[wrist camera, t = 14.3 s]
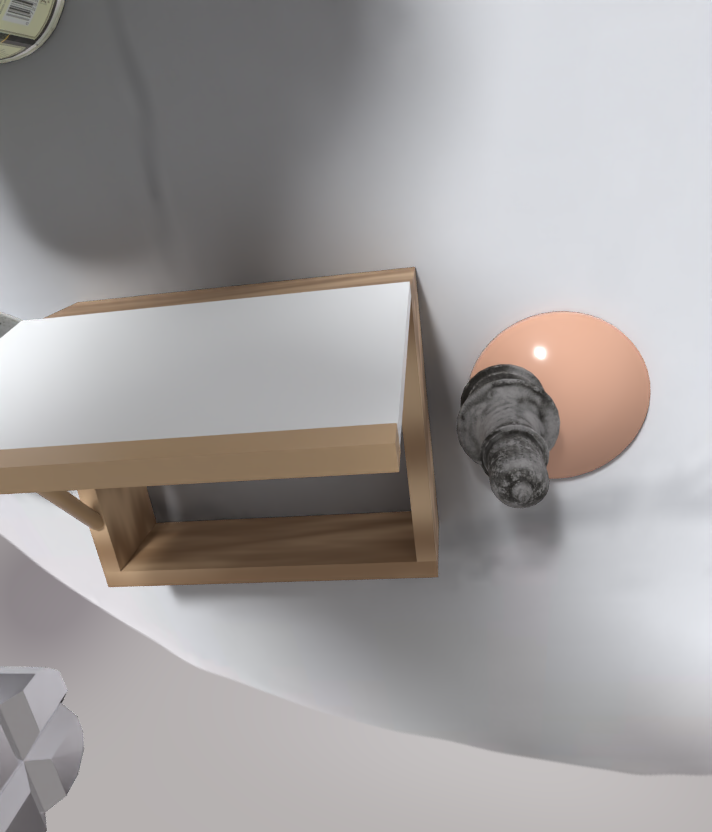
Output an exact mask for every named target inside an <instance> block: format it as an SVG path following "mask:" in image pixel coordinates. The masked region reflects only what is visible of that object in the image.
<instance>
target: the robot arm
mask: <svg viewBox="0 0 712 832" xmlns="http://www.w3.org/2000/svg"><path fill="white" fill-rule="evenodd" d="M67 691H68V690H67V687H66V685H65V683H64V681H63V679H62V676H61V674H60V672H59V670H55V669H51V668H47V667H0V832H46V831H47V828H46V817H45V812H46V811H48V810H49V809H50V808H51V807H53V806H54V805H55V804H56V803H58V802H59V801H60V800H62V799H63V798H64V797H65V796H67V793H68V792H69V790H70V788H71V786H72V784H73V783H74V781H75V779H76V777H77V775H78V772H79V768H80V764H81V759H82V756H83V752H84V741H83V730H82V727H81V724H80V722H79V719H78V716H77V715H75V714H74V713H73V712H72V711H71V710H69V709H68V708H67V707H66V706H65V705H63V704H62V702H63V700H64V697H65V695H66V693H67Z"/></svg>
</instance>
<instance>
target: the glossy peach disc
mask: <svg viewBox="0 0 712 832" xmlns="http://www.w3.org/2000/svg"><path fill="white" fill-rule="evenodd" d="M498 364H512V365H516V366H519V367H523V368H524V369H526V370H528V371H530V372H531V373H533V374H534V375H535V376H536V377H537V379H538V380H539V381H540V383H541V384H542V386H543V388H544V390H545V392H546V393H547V394H548V395H549V396H550V397H551V398H552V400H553V401H554V403H555V405H556V407H557V409H558V413H559V418H560V429H559V435H558V438H557V440H556V443H555V445H554V447H553V448H552V449H551V451H550V452H549V462H548V465H547V467H546V468H547V472H548V476H549V479H558V478H568V477H573V476H577V475H581V474H584V473H587V472H590V471H593V470H595V469H597V468H599V467H601V466H603V465H605V464H606V463H608V462H609V461H611V460H613V459H614V458H615V457H616V456H618V455H619V454H620V453H621V452H622V451H623V450H624V449H625V448H626V447H627V446H628V445H629V444H630V443H631V441H632V440H633V439H634V438H635V436H636V435H637V433H638V431H639V430H640V428H641V426H642V424H643V422H644V419H645V417H646V414H647V410H648V407H649V400H650V381H649V375H648V371H647V368H646V365H645V362H644V360H643V358H642V356H641V354H640V353H639V351H638V350H637V348H636V347H635V346H634V344H633V343H632V342H631V341H630V340H629V339H628V338H627V337H626V336H625V335H624V334H623V333H622V332H621V331H620V330H619V329H617V328H616V327H615V326H613V325H612V324H610V323H608V322H606V321H604V320H602V319H600V318H597V317H595V316H592V315H588V314H584V313H579V312H570V311H555V312H548V313H542V314H538V315H534V316H531V317H528V318H526V319H523V320H521V321H518V322H517V323H515V324H513V325H511V326H510V327H508V328H506V329H505V330H504V331H502V332H501V333H500V334H498V335H497V336H496V337H495V338H494V339H493V340H492V341H491V342H490V343H489V344H488V345H487V347H486V348H485V349H484V350H483V351H482V353H481V354H480V356H479V358H478V359H477V361H476V363H475V365H474V367H473V370H472V372H471V375H470V379H471V378H472V377H473V376H474V375H476V374H477V373H478V372H479V371H481V370H483V369H485V368H487V367H490V366H494V365H498ZM470 379H469V380H470Z"/></svg>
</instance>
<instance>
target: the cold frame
mask: <svg viewBox="0 0 712 832" xmlns="http://www.w3.org/2000/svg"><path fill="white" fill-rule="evenodd" d="M409 281H410V290H411V305H410V319H409V332H408V346H407V359H406V373H405V387H404V400H403V414H402V430H403V439H404V448H405V458H406V467H407V476H408V485H409V494H410V503H411V511H403V512H381V513H360V514H338V515H316V516H294V517H273V518H251V519H229V520H207V521H185V522H164V523H156V519H155V516H154V512H153V509H152V505H151V501H150V498H149V494H148V491H147V487H146V486H141V487H123V488H105V489H87V490H77V491H78V494H79V497H80V500H81V501H82V502H83V503H84V504H86V505H87V506H89V507H90V508H92V509H93V510H94V511H96V512H97V513H98V514H99V515H100V516H101V517H102V519H103V522H104V526H103V527H102V528H101V529H99V530H93V529H91V528H90V527H89V528H90V531H91V534H92V537H93V540H94V544H95V547H96V550H97V553H98V556H99V559H100V562H101V565H102V568H103V571H104V574H105V577H106V581H107V584H108V587H127V586H160V585H194V584H228V583H262V582H296V581H329V580H363V579H397V578H431V577H438V549H439V521H438V510H437V499H436V488H435V477H434V467H433V456H432V445H431V434H430V423H429V412H428V401H427V391H426V380H425V369H424V358H423V347H422V336H421V325H420V315H419V304H418V293H417V282H416V271H415V267H410V268H400V269H391V270H381V271H372V272H362V273H353V274H343V275H334V276H324V277H315V278H305V279H296V280H286V281H277V282H267V283H258V284H248V285H238V286H229V287H219V288H210V289H200V290H191V291H181V292H172V293H162V294H153V295H143V296H134V297H124V298H115V299H105V300H96V301H86V302H77V303H75V304H73V305H71V306H69V307H67V308H65V309H62V310H60V311H58V312H56V313H54V314H52V315H50V316H47V317H45V318H55V317H65V316H75V315H84V314H94V313H104V312H114V311H124V310H134V309H143V308H153V307H163V306H173V305H183V304H193V303H202V302H212V301H222V300H232V299H242V298H252V297H261V296H271V295H281V294H291V293H301V292H311V291H320V290H330V289H340V288H350V287H360V286H370V285H379V284H389V283H399V282H409ZM45 318H43V319H45Z"/></svg>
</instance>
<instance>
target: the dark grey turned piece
mask: <svg viewBox="0 0 712 832" xmlns="http://www.w3.org/2000/svg"><path fill="white" fill-rule="evenodd" d="M559 429H560V418H559V413H558V409H557V407H556V405H555V403H554V401H553V400H552V398H551V397H550V396H549V395H548V394H547V393H546V392H545V390H544V388H543V386H542V384H541V383H540V381H539V380H538V379H537V377H536V376H535V375H534V374H533V373H531V372H530V371H528V370H526V369H524V368H523V367H519V366H516V365H512V364H498V365H494V366H490V367H487V368H485V369H483V370H481V371H479V372H478V373H477V374H476V375H474V376H473V377H472V378H471V379H470V380H469V382H468V383H467V385H466V386H465V388H464V391H463V394H462V397H461V409H460V412H459V415H458V418H457V434H458V438H459V442H460V444H461V446H462V447H463V449H464V451H465V452H466V454H467V455H468V456H469V457H470V458H472V459H473V460H474V461H475V462H476V463H478V464H480V465H481V466H482V468H483V470H484V471H485V473H486V474H487V475H488V476H489V478H490V484H491V488H492V491H493V492H494V494H495V496H496V497H497V498H498V499H499V500H500V501H501V502H502V503H504V504H506V505H508V506H511V507H514V508H526V507H530V506H533V505H535V504H537V503H538V502H540V501H541V500H542V499H543V498H544V496H545V495H546V493H547V491H548V487H549V476H548V472H547V468H546V467H547V465H548V462H549V452H550V451H551V449H552V448H553V447H554V445H555V443H556V440H557V438H558V435H559Z"/></svg>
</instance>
